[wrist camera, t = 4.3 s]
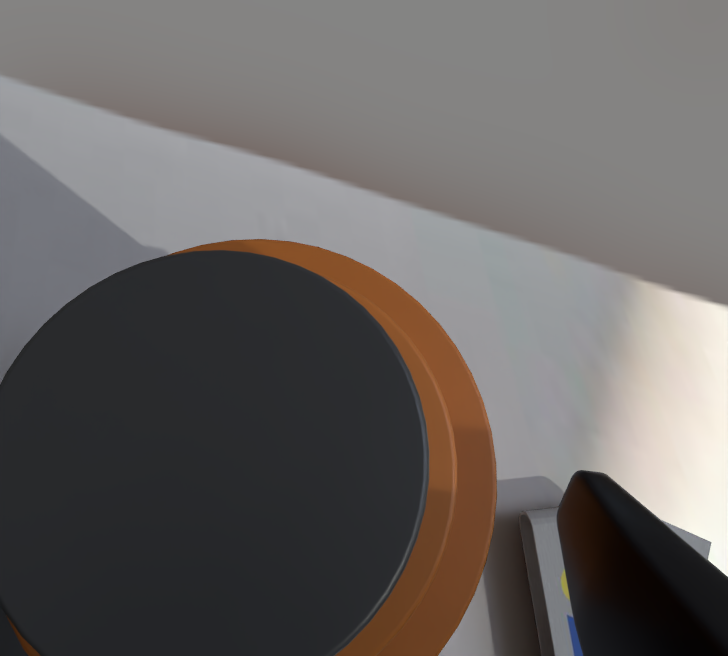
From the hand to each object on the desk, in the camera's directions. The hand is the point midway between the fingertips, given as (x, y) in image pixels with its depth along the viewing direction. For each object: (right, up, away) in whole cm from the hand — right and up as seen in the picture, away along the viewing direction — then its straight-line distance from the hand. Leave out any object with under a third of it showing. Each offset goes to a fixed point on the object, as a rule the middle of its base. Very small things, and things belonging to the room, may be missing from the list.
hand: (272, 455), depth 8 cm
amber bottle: (-1, -2, +7) cm, 8 cm away
